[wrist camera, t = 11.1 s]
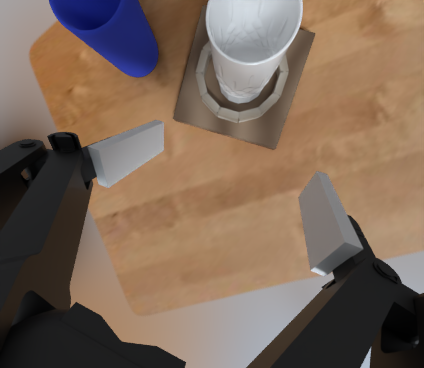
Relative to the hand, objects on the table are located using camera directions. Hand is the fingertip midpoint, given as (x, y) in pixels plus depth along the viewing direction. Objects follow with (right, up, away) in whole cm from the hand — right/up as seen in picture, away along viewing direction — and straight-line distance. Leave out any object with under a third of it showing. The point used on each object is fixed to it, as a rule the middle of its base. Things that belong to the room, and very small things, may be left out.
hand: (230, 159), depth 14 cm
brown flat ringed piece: (+3, +13, +11) cm, 17 cm away
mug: (-15, +19, +12) cm, 26 cm away
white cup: (+3, +13, +10) cm, 16 cm away
